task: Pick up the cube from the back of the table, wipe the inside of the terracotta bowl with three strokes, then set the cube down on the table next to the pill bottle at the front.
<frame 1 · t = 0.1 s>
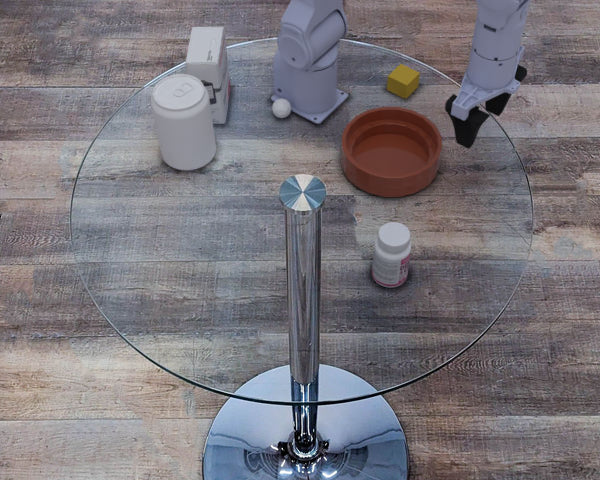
hand: (478, 128, 117), 10 cm above the table, tool pointing down, fingers open, 7 cm apart
bowl: (389, 163, 127), on the table
white ball: (282, 116, 134), on the table
pill bottle: (389, 275, 116), on the table
beverage can: (189, 154, 130), on the table
ink box: (213, 106, 135), on the table
cube: (402, 88, 137), on the table
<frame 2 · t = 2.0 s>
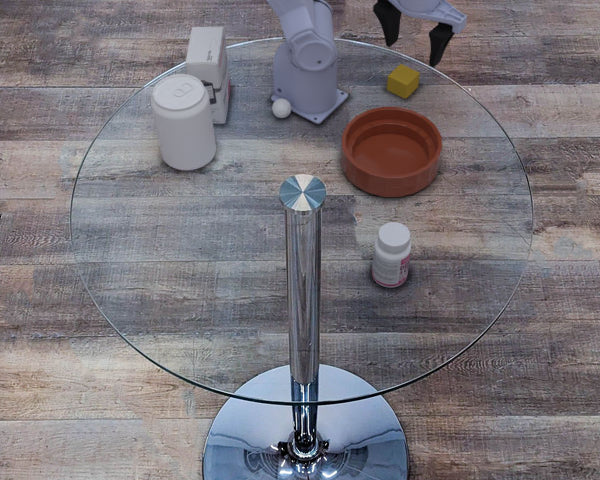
hand: (413, 53, 129), 8 cm above the table, tool pointing down, fingers open, 7 cm apart
nothing on the table moved.
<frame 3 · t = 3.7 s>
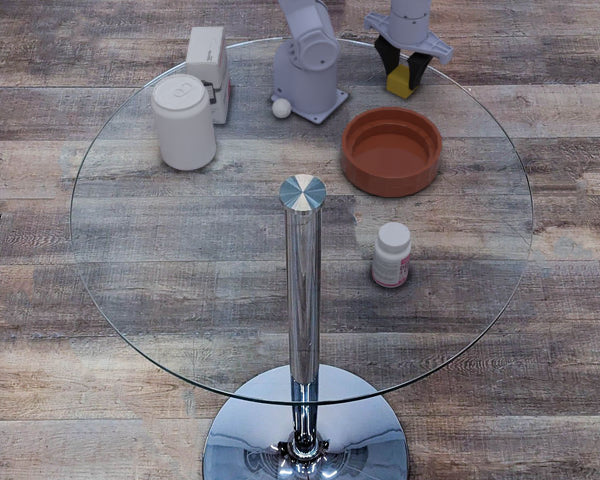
hand: (403, 81, 136), 1 cm above the table, tool pointing down, fingers closed on cube, 3 cm apart
cube: (402, 88, 137), on the table, touching gripper
everything else where it was.
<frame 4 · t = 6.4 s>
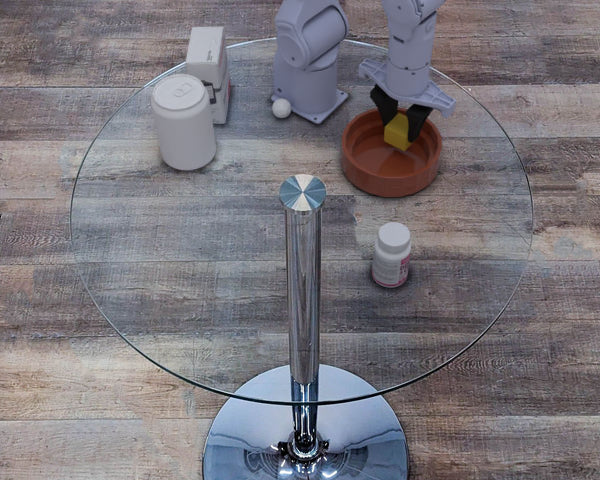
hand: (401, 132, 125), 4 cm above the table, tool pointing down, fingers closed on cube, 3 cm apart
cube: (400, 139, 126), point 3 cm above the table, touching gripper
everything else where it was.
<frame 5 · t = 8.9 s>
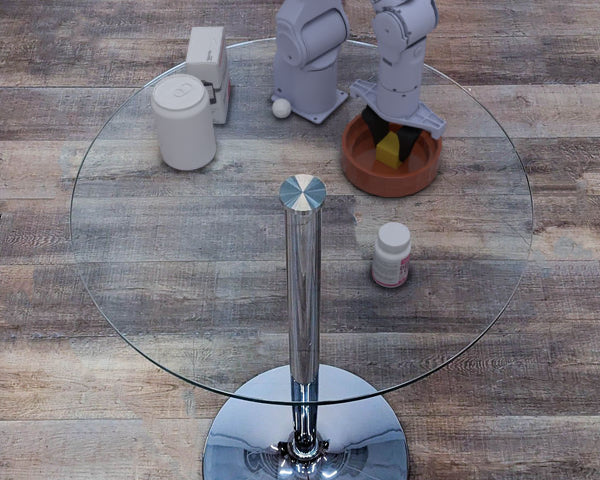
hand: (392, 151, 126), 2 cm above the table, tool pointing down, fingers closed on cube, 3 cm apart
cube: (392, 157, 127), point 1 cm above the table, touching gripper
everything else where it was.
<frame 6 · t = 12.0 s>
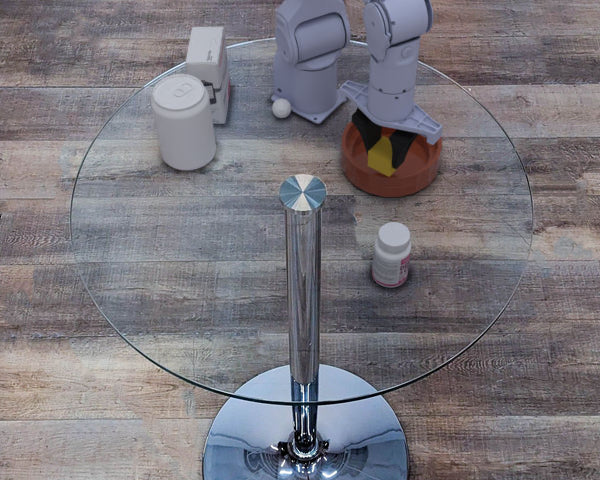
hand: (385, 157, 118), 7 cm above the table, tool pointing down, fingers closed on cube, 3 cm apart
cube: (385, 163, 119), point 6 cm above the table, touching gripper
everything else where it was.
when the fingers open (1 cm above the table, at t = 14.3 s): cube stays where it is, on the table.
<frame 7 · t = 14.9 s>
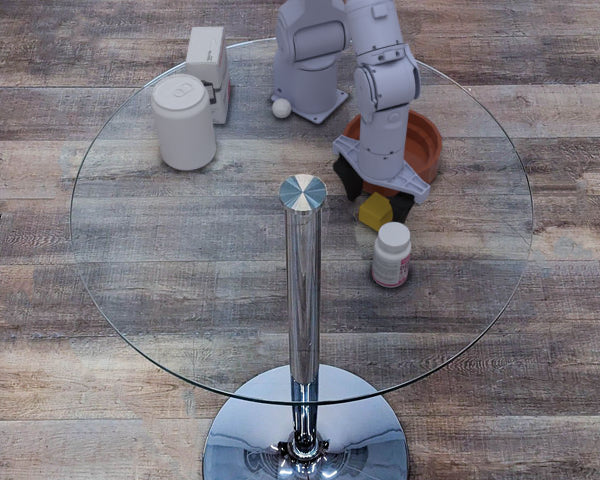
hand: (376, 210, 120), 2 cm above the table, tool pointing down, fingers open, 7 cm apart
cube: (376, 218, 121), on the table
everything else where it was.
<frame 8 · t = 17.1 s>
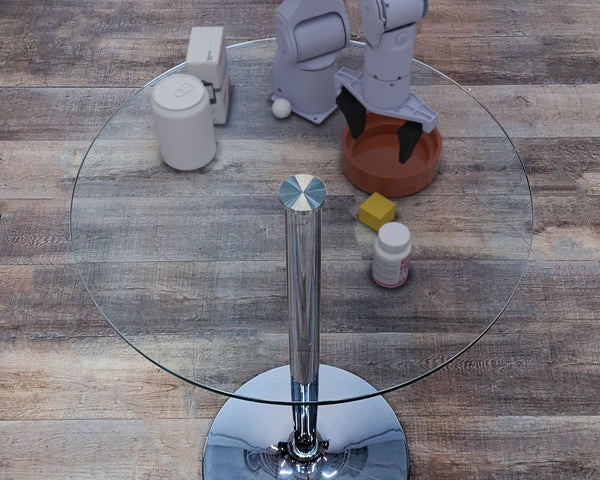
hand: (381, 146, 116), 9 cm above the table, tool pointing down, fingers open, 7 cm apart
nothing on the table moved.
at the end: cube 9.8 cm from the pill bottle (horizontally); cube on the table; the gripper is holding nothing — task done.
